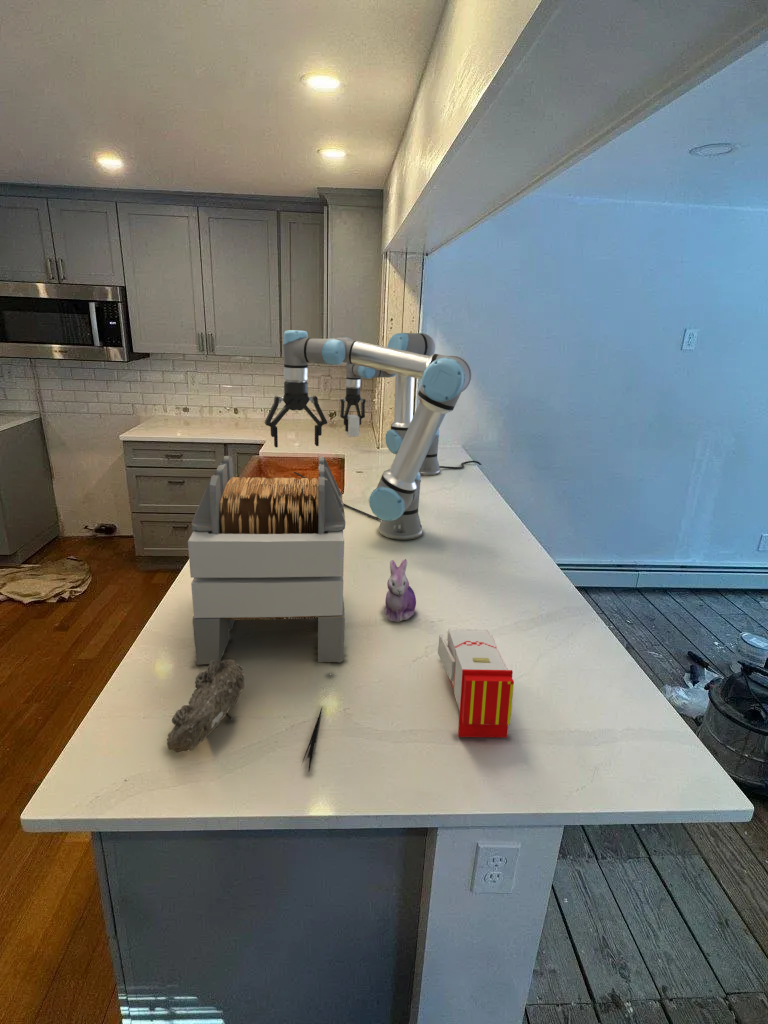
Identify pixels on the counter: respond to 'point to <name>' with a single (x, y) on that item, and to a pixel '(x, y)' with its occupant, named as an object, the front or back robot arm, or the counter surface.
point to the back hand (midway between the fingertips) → (352, 430)
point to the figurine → (399, 594)
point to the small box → (353, 426)
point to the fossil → (206, 705)
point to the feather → (313, 740)
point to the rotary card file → (267, 557)
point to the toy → (478, 682)
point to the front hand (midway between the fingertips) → (296, 445)
